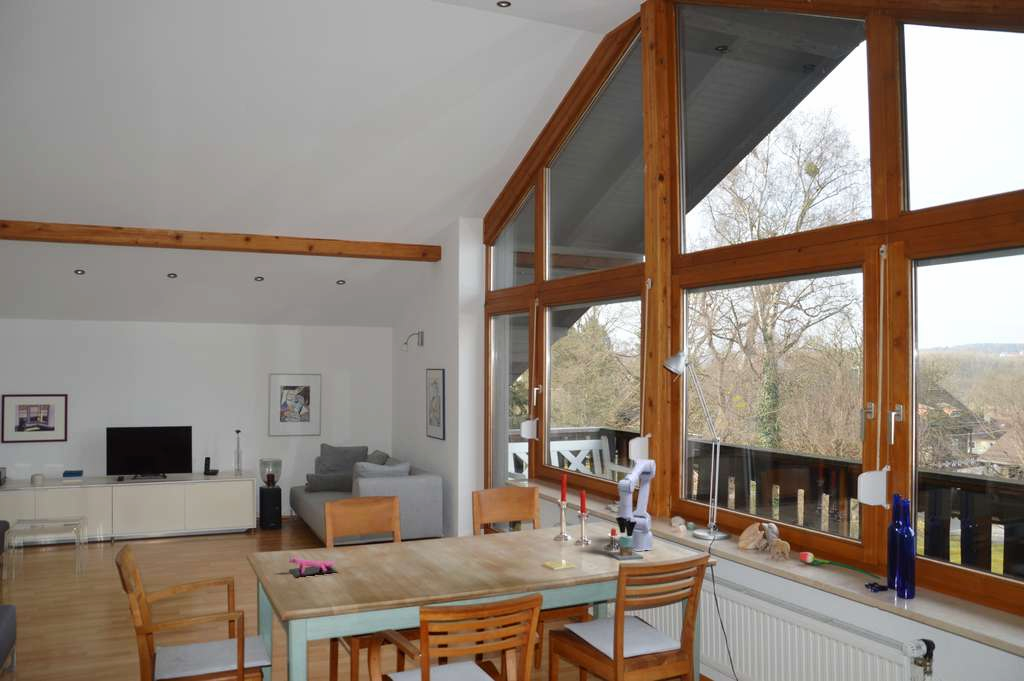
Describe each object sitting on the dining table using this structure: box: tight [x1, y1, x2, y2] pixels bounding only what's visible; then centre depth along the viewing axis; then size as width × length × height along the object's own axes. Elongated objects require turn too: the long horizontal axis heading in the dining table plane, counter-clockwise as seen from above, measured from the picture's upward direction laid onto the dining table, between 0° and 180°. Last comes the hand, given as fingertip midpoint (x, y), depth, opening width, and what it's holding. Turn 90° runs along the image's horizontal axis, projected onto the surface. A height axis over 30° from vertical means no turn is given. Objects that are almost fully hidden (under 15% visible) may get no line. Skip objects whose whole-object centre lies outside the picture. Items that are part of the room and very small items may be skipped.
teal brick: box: [618, 535, 632, 547], centre depth 389 cm, size 4×4×4 cm
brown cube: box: [618, 544, 633, 556], centre depth 389 cm, size 4×4×4 cm
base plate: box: [608, 550, 644, 561], centre depth 389 cm, size 12×12×1 cm
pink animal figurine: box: [288, 557, 339, 579], centre depth 357 cm, size 15×20×7 cm
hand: (626, 534), depth 389 cm, fingers open, 7 cm apart
